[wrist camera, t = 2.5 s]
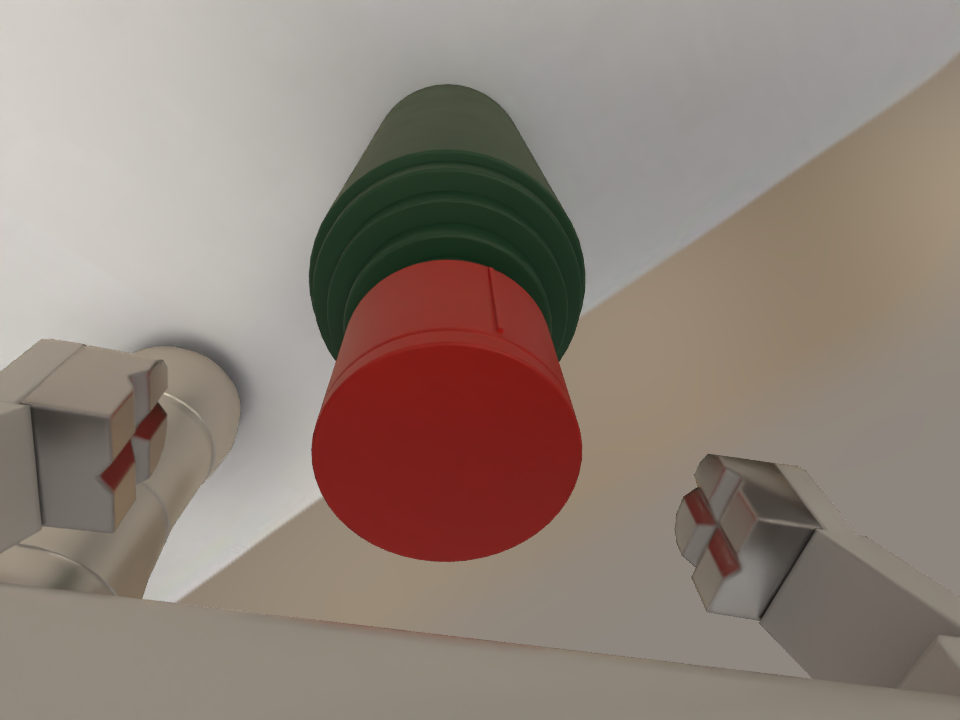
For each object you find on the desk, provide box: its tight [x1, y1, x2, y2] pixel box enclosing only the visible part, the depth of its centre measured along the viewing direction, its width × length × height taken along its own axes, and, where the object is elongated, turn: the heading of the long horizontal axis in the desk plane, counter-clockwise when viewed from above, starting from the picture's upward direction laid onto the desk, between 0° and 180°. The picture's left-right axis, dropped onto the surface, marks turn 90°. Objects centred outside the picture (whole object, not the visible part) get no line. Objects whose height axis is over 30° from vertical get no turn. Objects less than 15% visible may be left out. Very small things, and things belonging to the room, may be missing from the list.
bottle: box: [309, 84, 585, 361], centre depth 19 cm, size 6×6×20 cm
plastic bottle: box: [0, 346, 241, 599], centre depth 23 cm, size 6×7×20 cm
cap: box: [311, 260, 582, 562], centre depth 11 cm, size 4×4×3 cm
